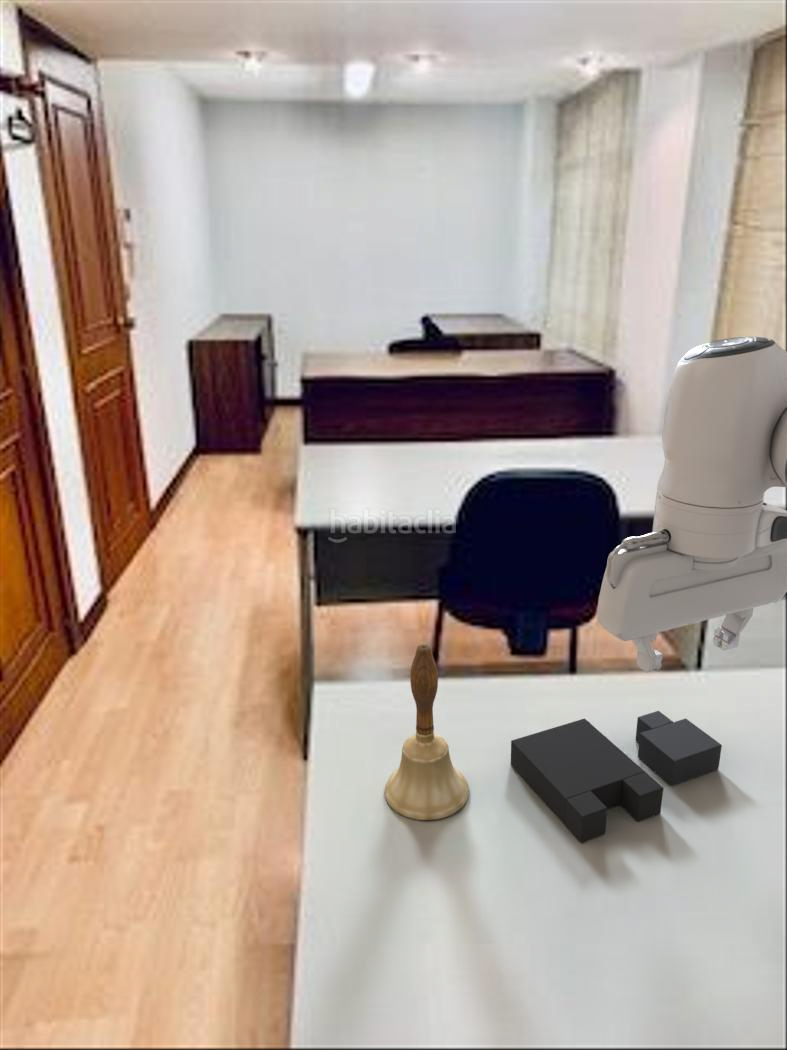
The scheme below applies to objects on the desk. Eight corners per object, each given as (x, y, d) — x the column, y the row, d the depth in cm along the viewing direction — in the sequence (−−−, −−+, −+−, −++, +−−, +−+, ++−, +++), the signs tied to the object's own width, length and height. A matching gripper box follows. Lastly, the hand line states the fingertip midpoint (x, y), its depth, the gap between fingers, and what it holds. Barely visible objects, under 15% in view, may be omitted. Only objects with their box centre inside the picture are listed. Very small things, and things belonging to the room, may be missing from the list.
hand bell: (370, 780, 76) (363, 640, 71) (441, 754, 80) (440, 619, 74) (409, 833, 69) (405, 682, 64) (485, 802, 73) (487, 657, 67)
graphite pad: (667, 730, 83) (670, 706, 82) (718, 769, 76) (722, 744, 75) (622, 744, 81) (625, 720, 80) (671, 786, 74) (674, 761, 73)
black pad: (582, 741, 81) (584, 718, 80) (660, 813, 71) (663, 787, 70) (510, 764, 78) (510, 740, 77) (580, 843, 68) (582, 816, 67)
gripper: (635, 554, 62) (621, 699, 67) (816, 516, 69) (791, 649, 74) (587, 529, 67) (578, 665, 72) (760, 496, 75) (740, 621, 80)
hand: (687, 657), depth 73 cm, fingers open, 8 cm apart
